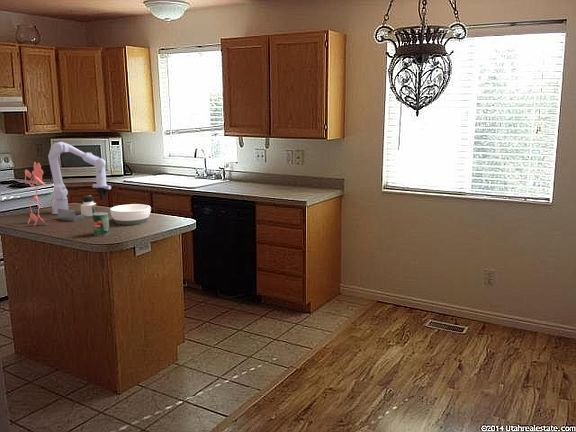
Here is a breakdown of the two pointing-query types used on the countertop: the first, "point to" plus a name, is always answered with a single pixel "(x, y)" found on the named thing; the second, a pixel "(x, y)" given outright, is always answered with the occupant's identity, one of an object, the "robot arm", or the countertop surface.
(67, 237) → the countertop surface
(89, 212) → the medicine bottle
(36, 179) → the figurine
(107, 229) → the canned tomato
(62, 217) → the bracket
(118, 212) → the bowl
